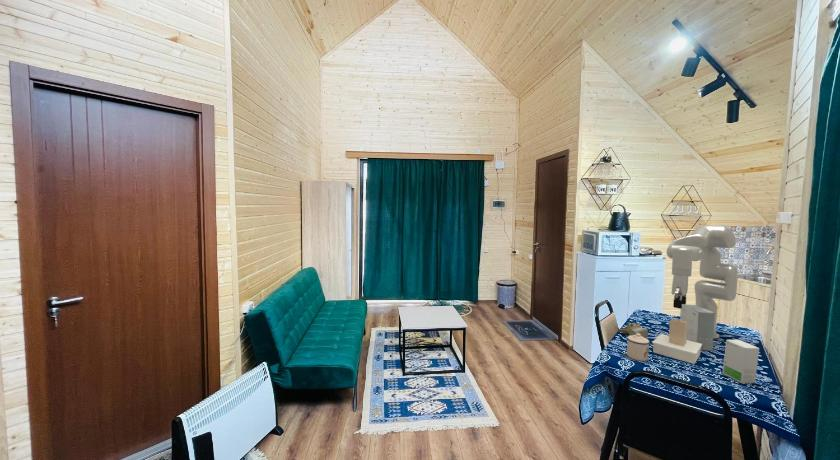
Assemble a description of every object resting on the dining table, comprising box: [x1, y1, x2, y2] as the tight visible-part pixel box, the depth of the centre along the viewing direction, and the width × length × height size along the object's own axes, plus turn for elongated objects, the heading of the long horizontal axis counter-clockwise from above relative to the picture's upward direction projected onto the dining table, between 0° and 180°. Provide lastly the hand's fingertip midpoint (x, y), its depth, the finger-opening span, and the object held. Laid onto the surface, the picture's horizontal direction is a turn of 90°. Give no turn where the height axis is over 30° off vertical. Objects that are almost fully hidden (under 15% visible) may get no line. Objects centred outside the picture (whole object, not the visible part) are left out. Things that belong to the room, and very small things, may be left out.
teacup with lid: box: [626, 333, 650, 362], centre depth 156 cm, size 12×9×12 cm
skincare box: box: [722, 339, 760, 384], centre depth 135 cm, size 8×7×16 cm
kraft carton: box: [668, 318, 687, 346], centre depth 159 cm, size 5×6×11 cm
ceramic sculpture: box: [617, 321, 649, 339], centre depth 181 cm, size 11×9×15 cm
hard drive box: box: [679, 303, 715, 352], centre depth 170 cm, size 16×8×20 cm, turn 168°
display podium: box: [652, 333, 702, 365], centre depth 160 cm, size 17×17×5 cm
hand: (679, 305), depth 158 cm, fingers open, 9 cm apart
